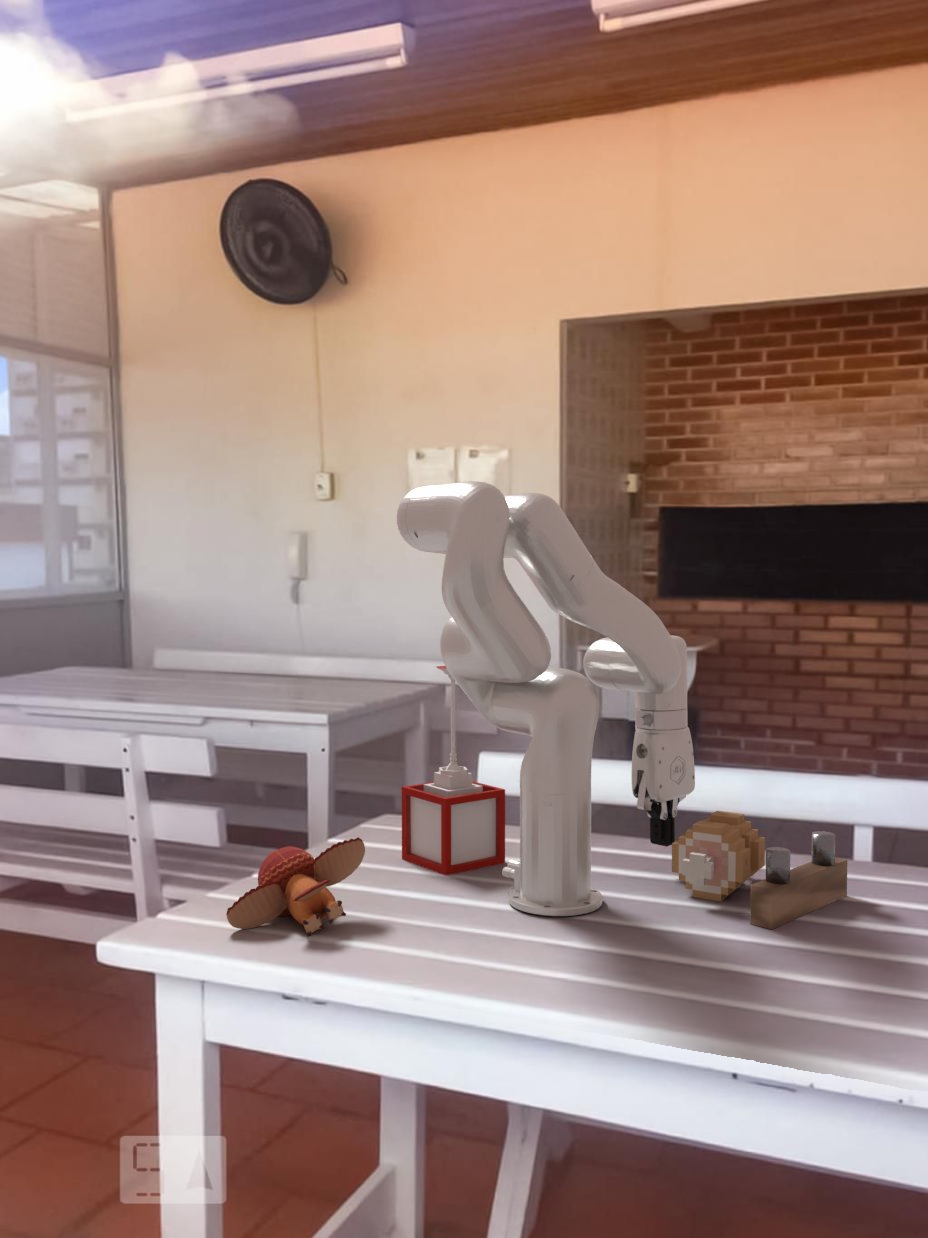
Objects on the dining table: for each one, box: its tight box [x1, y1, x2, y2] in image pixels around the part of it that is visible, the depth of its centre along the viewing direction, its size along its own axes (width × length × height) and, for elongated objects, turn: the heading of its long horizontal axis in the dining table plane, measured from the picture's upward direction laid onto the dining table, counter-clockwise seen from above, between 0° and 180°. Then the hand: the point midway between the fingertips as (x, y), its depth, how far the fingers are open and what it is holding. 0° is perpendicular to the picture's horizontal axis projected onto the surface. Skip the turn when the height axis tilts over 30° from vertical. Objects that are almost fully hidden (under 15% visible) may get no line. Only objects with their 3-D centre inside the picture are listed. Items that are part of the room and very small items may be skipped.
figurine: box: [225, 837, 366, 937], centre depth 140 cm, size 20×9×15 cm
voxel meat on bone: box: [671, 810, 766, 902], centre depth 152 cm, size 10×18×10 cm, turn 148°
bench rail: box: [749, 830, 848, 930], centre depth 143 cm, size 3×20×9 cm, turn 134°
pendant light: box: [401, 665, 506, 876], centre depth 167 cm, size 11×11×30 cm
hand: (662, 843), depth 159 cm, fingers closed
